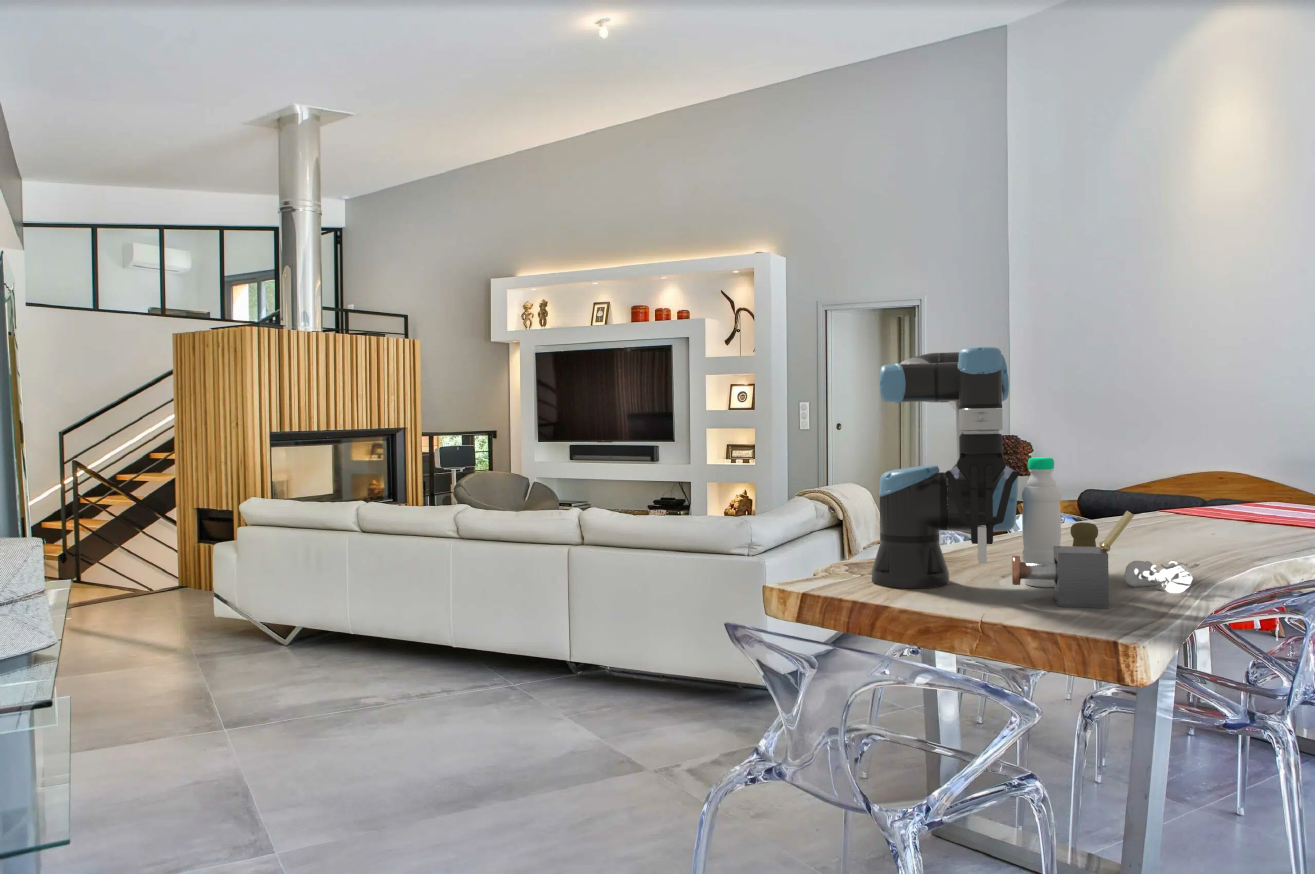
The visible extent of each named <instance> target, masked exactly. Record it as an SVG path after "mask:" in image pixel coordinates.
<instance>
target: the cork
mask: <svg viewBox="0 0 1315 874" xmlns="http://www.w3.org/2000/svg"><path fill="white" fill-rule="evenodd" d="M1070 535H1071V538H1073V540H1072V546H1076V547H1097V543H1096V540H1097V538H1098V536H1099V529H1098V526H1097V525H1096V524H1095V523H1091V522H1083V521H1082V522H1075V523H1073V524H1072V525H1071V526H1070Z"/></svg>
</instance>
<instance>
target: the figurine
mask: <svg viewBox="0 0 1315 874" xmlns="http://www.w3.org/2000/svg"><path fill="white" fill-rule="evenodd" d="M1160 565H1161V567H1162V569H1161V570H1160V571H1159V569H1157V565H1156V564H1153V563H1152V562H1151V561H1148V560H1144V561H1143V560H1132V561H1131V562H1128V564H1127V565H1126V567H1125V570H1124V580H1125V582H1126V584H1128V585H1129V586H1130V587H1131V588H1135V589H1137V588H1140V587H1141V588H1142V587H1153V586H1154V588H1155V589H1158V587H1155V586H1157V585H1161V586H1162V587H1161V588H1162V589H1163V592H1167V593H1170V594H1180V593H1183V592H1184V591H1186V590H1187V589H1189V587H1191V585H1192V581H1193V575H1192V574H1191V572H1188V571H1187V570H1185V569H1194V568H1197V567H1199V566H1200V565H1201V564H1200V563H1193V564H1191V565H1190V564H1189V565H1188V563H1183V562H1180V561H1179V562H1177V561H1172V560H1171V561H1170V562H1168V563H1164V564H1162V563H1161V564H1160ZM1157 591H1158V592H1162V590H1159V589H1158V590H1157Z"/></svg>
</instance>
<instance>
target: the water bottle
mask: <svg viewBox="0 0 1315 874" xmlns="http://www.w3.org/2000/svg"><path fill="white" fill-rule="evenodd" d="M1054 468H1055V460H1054V459H1053V458H1052V457H1049V456H1048V457H1046V456H1042V457H1041V456H1037V457H1036V456H1034V457H1030V458H1029V459H1028V460H1027V469H1028V472H1029V473H1030V476H1029V478H1028V480H1027V482H1026V484H1025V486H1024V488H1023V490H1022V493H1021V499H1022V502H1023V503H1022V513H1021V515H1022V516H1021V517H1022V519H1021V521H1022V527H1021V528H1022V531H1021V532H1022V542H1023V549H1022V562H1035V563H1054V546H1061V541H1062V540H1061V537H1062V535H1061V533H1062V519H1061V503H1060V502H1061V498H1062V497H1061V492H1060V489H1059V488H1058V486H1057V484H1056V481H1055V479H1054V478H1053V476H1052V473H1053V472H1054ZM1022 582H1023V583H1024V584H1025V585H1026V586H1029V587H1036V588H1054V580H1041V579H1022Z"/></svg>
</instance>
